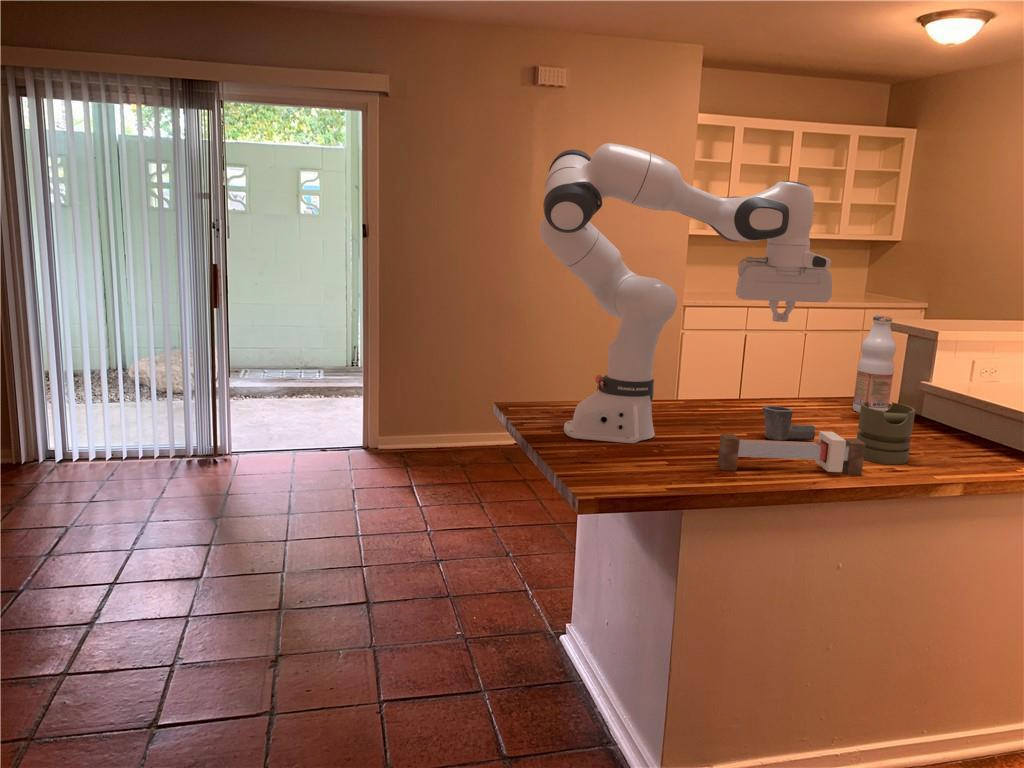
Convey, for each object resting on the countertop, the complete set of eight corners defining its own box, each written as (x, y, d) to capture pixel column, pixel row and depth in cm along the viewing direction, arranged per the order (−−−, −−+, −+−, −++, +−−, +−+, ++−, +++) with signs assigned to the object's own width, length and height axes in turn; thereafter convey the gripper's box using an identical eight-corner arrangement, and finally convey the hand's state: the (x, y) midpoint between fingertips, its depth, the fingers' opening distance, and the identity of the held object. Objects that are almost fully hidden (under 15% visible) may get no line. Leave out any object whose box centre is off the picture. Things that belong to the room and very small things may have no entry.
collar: (827, 471, 165) (832, 440, 164) (815, 461, 172) (819, 431, 170) (841, 472, 165) (846, 440, 164) (828, 462, 172) (832, 431, 170)
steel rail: (728, 457, 166) (729, 442, 166) (723, 452, 169) (725, 438, 169) (857, 461, 166) (859, 447, 166) (851, 457, 170) (853, 442, 169)
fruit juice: (846, 411, 226) (859, 315, 220) (859, 406, 232) (872, 313, 226) (879, 417, 219) (893, 319, 213) (892, 413, 226) (906, 317, 220)
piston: (854, 399, 184) (903, 402, 183) (847, 448, 187) (896, 450, 186) (871, 411, 173) (924, 414, 172) (864, 463, 176) (916, 465, 175)
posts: (722, 470, 166) (725, 438, 165) (717, 464, 170) (720, 433, 169) (861, 475, 167) (865, 444, 165) (853, 469, 171) (857, 438, 169)
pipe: (815, 445, 188) (819, 413, 187) (760, 440, 191) (763, 409, 189) (810, 439, 194) (814, 408, 193) (758, 434, 197) (761, 403, 195)
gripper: (743, 257, 166) (737, 321, 169) (838, 260, 166) (830, 324, 169) (735, 255, 172) (729, 317, 175) (827, 259, 172) (819, 321, 175)
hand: (780, 321), depth 172 cm, fingers closed
